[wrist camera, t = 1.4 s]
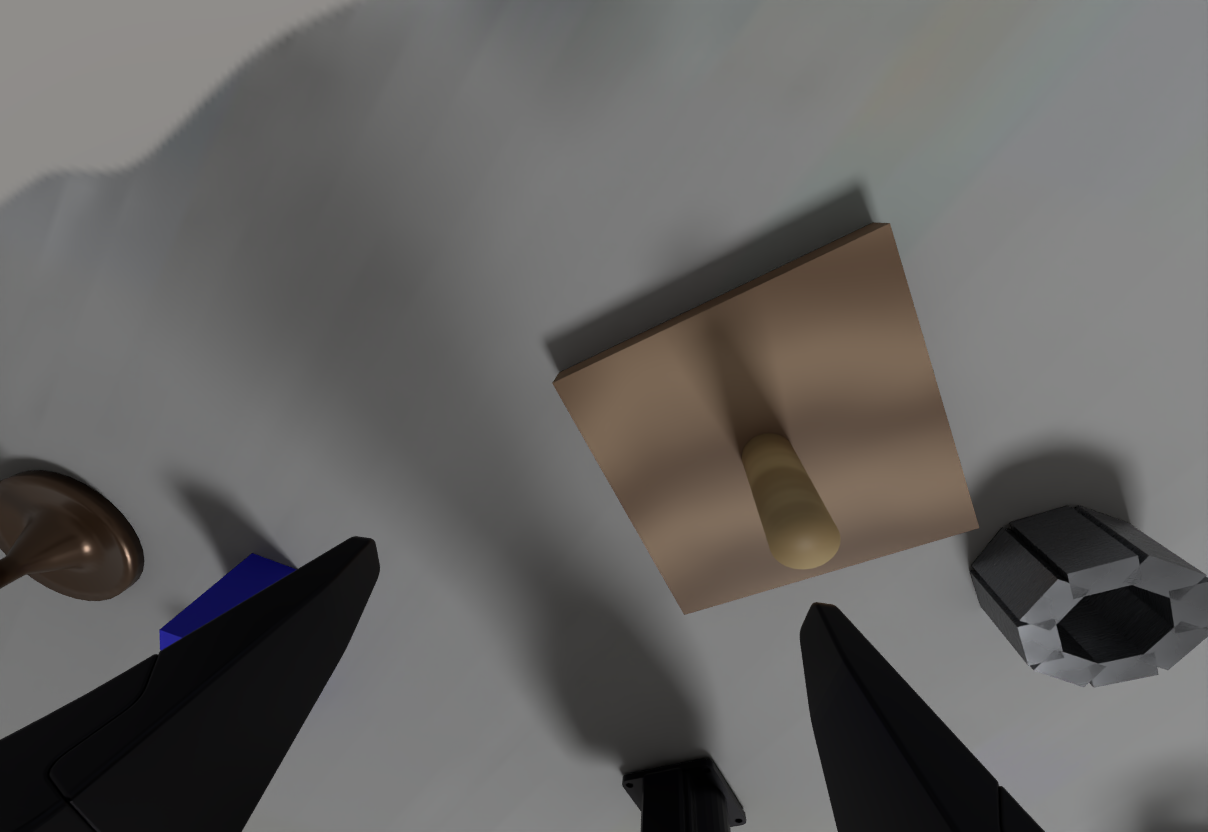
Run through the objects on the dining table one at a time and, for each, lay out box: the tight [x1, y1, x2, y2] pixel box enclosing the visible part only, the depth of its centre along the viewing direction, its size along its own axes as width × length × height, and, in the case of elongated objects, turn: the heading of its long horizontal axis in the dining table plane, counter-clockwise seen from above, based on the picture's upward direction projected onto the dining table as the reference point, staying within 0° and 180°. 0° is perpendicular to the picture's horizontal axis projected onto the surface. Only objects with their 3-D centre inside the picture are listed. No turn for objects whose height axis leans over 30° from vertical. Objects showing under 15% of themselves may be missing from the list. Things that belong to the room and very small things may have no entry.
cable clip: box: [160, 553, 297, 650], centre depth 29 cm, size 12×4×6 cm, turn 160°
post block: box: [553, 223, 979, 615], centre depth 19 cm, size 14×14×8 cm
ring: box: [970, 506, 1208, 687], centre depth 22 cm, size 7×7×4 cm
